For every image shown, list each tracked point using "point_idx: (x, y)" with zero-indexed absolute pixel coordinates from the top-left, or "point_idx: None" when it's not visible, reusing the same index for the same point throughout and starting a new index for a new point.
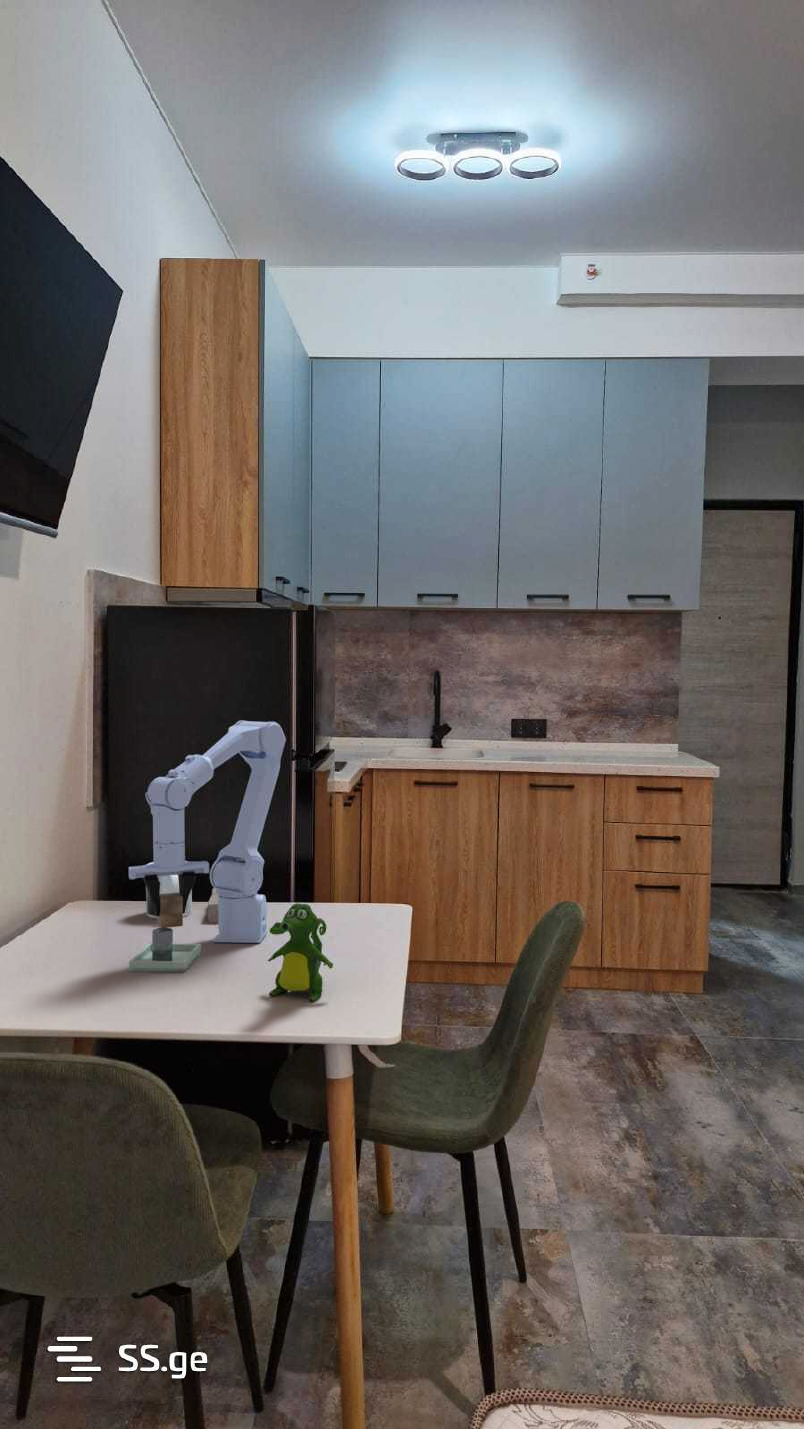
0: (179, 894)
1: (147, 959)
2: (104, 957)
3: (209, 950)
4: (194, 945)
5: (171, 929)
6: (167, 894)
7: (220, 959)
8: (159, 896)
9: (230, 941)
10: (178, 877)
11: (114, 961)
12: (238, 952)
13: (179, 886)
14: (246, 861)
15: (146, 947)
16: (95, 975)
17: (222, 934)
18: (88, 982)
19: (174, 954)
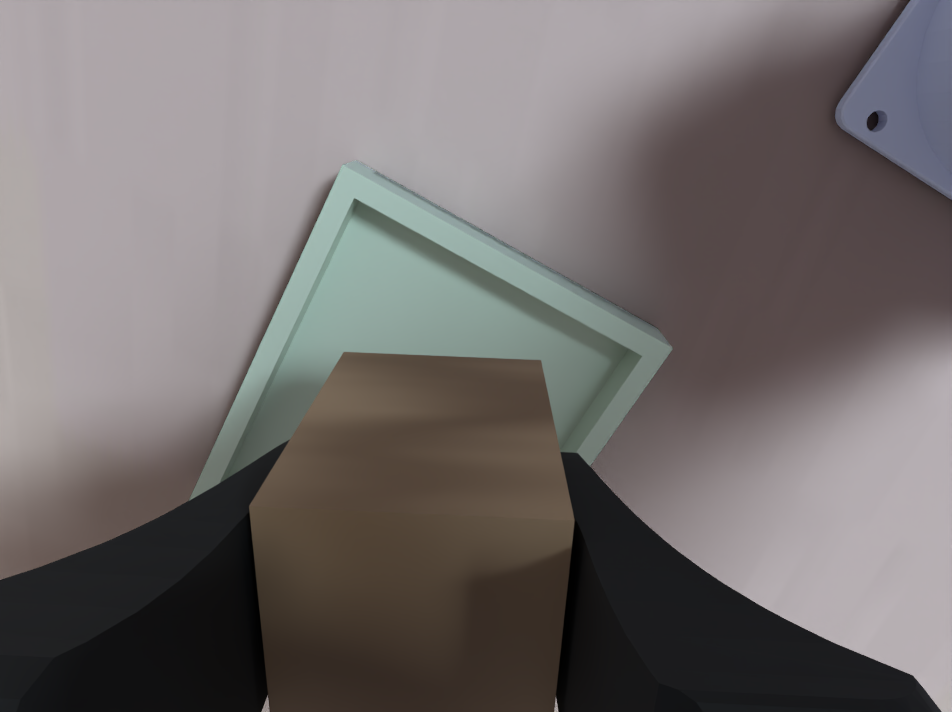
0: (550, 640)
1: (309, 386)
2: (60, 143)
3: (727, 288)
4: (625, 345)
5: None
6: (394, 584)
7: (707, 487)
8: (270, 638)
9: (935, 187)
10: (640, 677)
11: (126, 265)
12: (860, 406)
13: (596, 628)
14: None
15: (308, 273)
16: (32, 475)
17: (939, 111)
18: (8, 561)
19: (481, 356)
